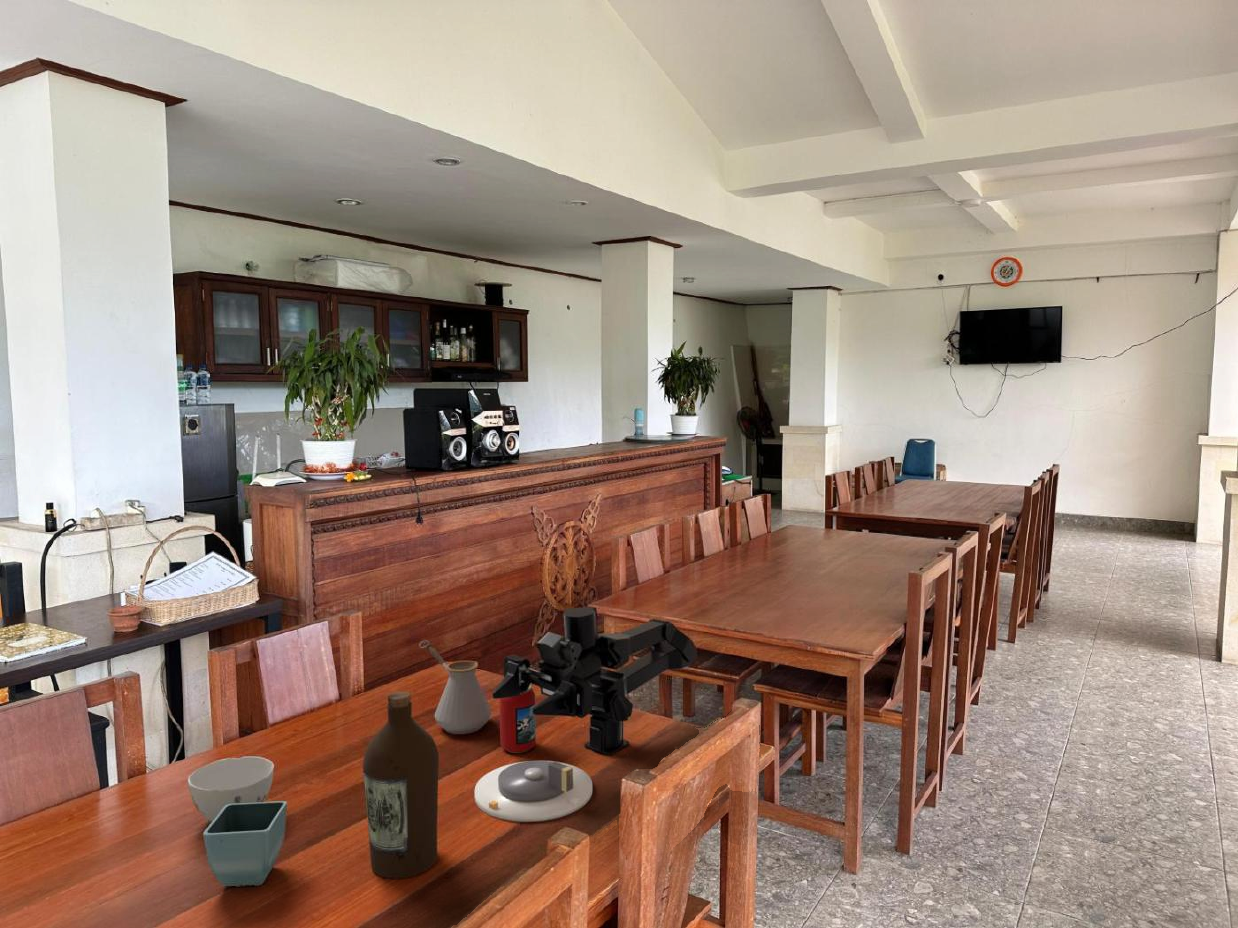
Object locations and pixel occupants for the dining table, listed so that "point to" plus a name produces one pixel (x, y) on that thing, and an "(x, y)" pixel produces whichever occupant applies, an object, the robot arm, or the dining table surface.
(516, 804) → the plate
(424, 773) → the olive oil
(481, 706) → the coffee pot
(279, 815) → the flower pot
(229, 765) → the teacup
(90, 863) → the dining table surface
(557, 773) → the dial
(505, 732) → the beverage can
